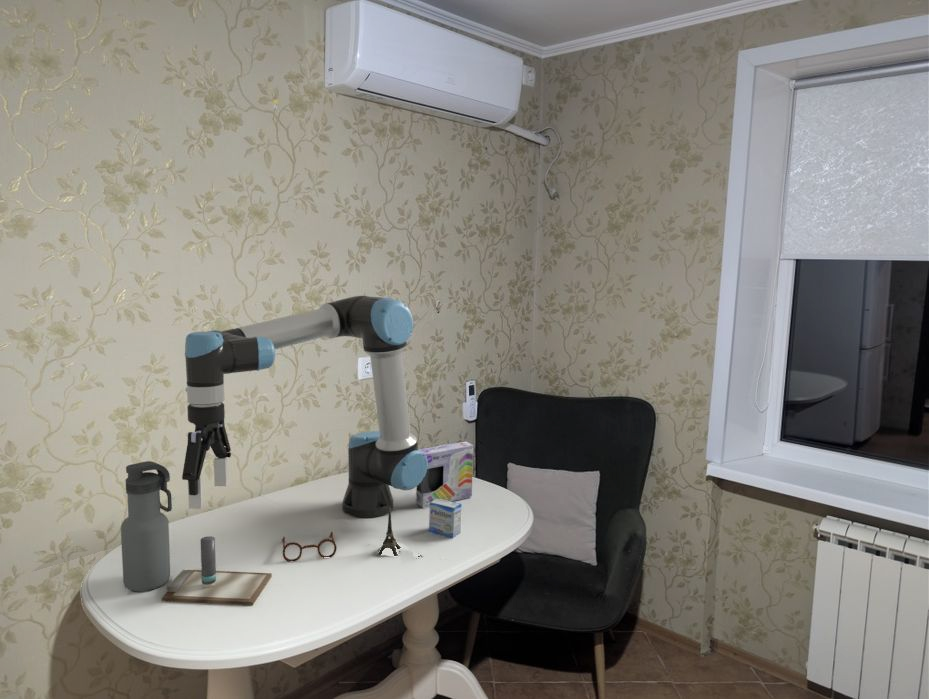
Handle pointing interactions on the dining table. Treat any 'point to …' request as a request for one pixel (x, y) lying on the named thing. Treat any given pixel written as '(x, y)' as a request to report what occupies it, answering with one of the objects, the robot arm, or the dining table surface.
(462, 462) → the cake pan box
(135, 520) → the water bottle
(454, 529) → the medicine box
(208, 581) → the marker
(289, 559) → the glasses
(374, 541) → the dining table surface
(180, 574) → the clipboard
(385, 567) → the dining table surface
